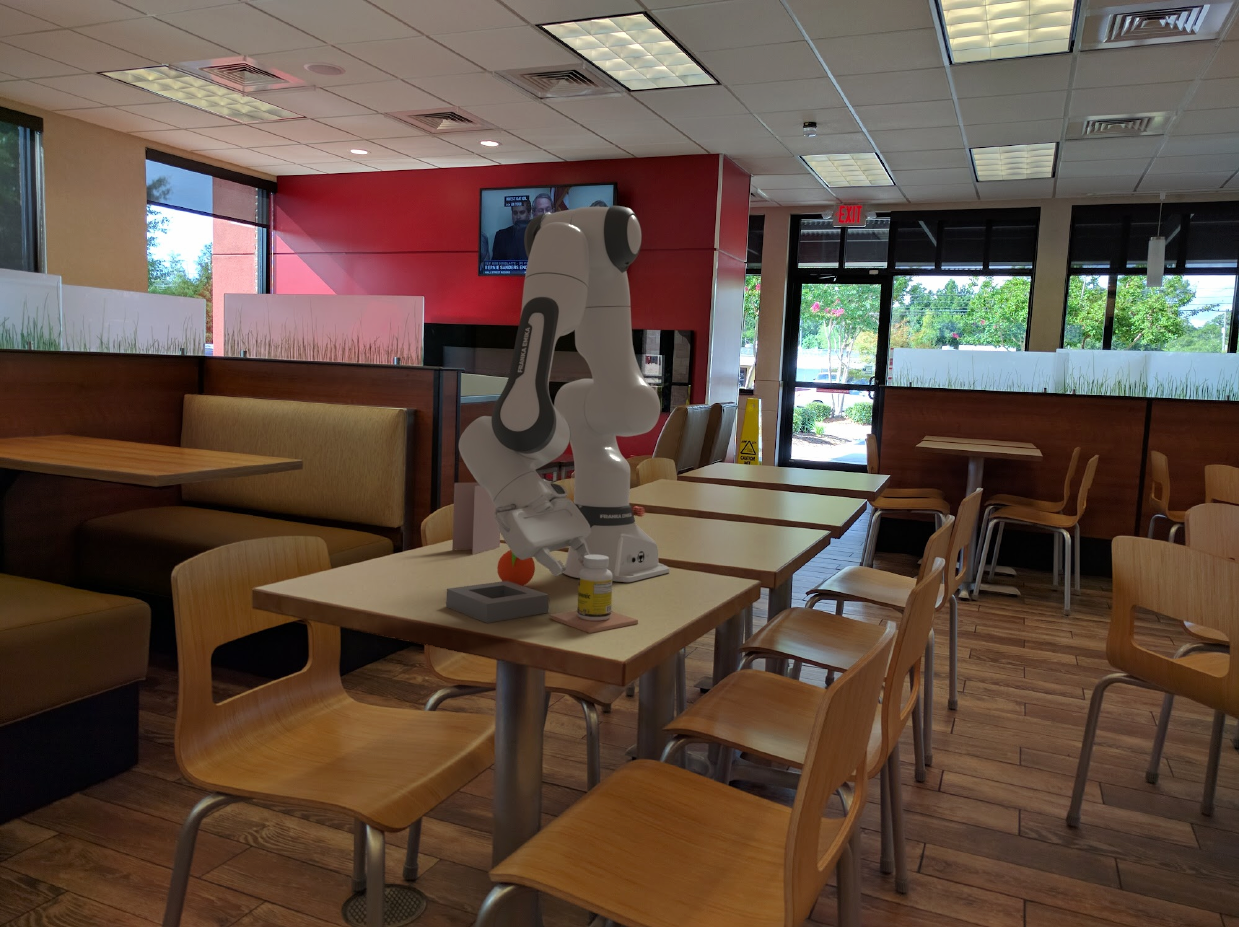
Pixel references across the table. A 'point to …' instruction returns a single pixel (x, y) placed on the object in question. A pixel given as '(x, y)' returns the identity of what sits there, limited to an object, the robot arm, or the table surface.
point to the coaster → (593, 626)
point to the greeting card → (474, 519)
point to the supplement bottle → (595, 589)
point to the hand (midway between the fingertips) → (575, 568)
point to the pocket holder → (497, 601)
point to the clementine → (515, 569)
